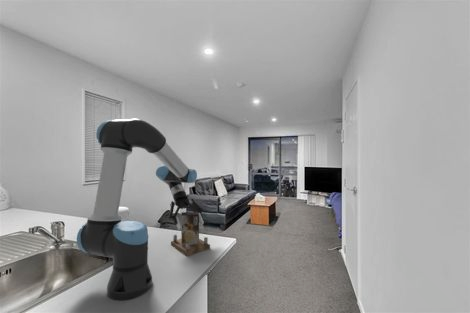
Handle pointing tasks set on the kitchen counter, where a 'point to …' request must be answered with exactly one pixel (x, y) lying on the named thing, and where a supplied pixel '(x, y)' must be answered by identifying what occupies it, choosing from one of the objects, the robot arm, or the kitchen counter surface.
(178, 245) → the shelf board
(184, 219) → the coffee box
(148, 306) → the kitchen counter surface
